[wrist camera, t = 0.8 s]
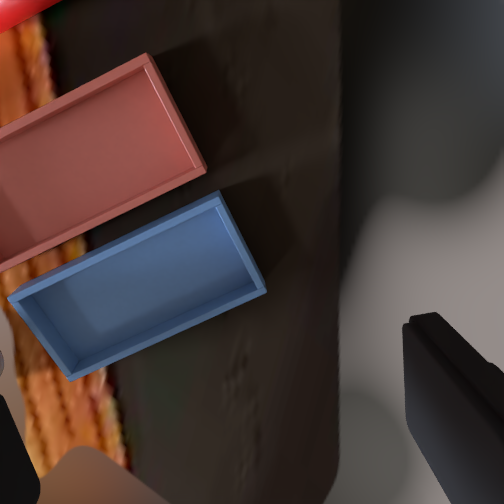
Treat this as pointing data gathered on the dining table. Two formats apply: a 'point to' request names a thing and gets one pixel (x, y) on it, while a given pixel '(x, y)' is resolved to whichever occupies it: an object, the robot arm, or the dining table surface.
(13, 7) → the red spoon
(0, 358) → the coffee cup
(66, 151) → the rose tray
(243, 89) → the dining table surface
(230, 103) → the dining table surface
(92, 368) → the blue tray
